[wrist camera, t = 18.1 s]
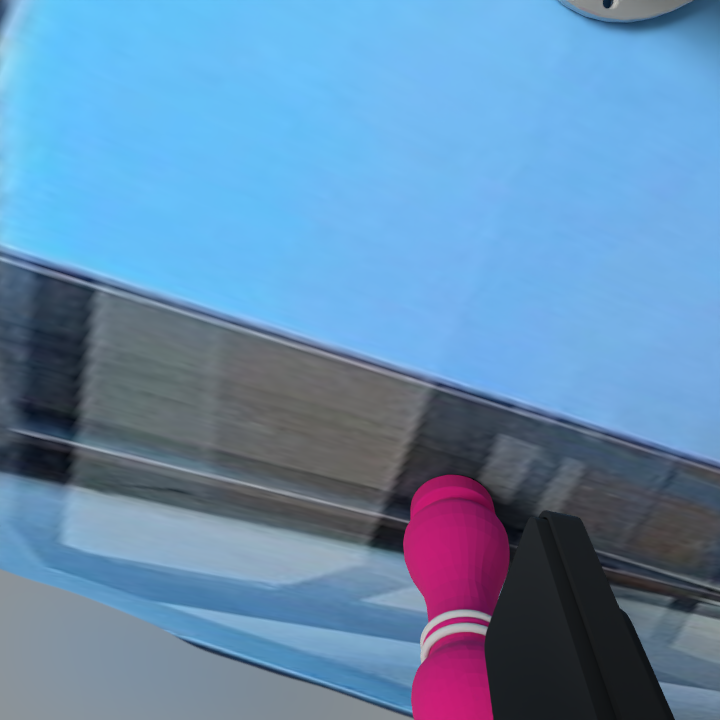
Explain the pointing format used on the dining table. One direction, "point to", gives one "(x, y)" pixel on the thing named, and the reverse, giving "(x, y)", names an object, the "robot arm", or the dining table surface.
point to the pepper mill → (455, 594)
